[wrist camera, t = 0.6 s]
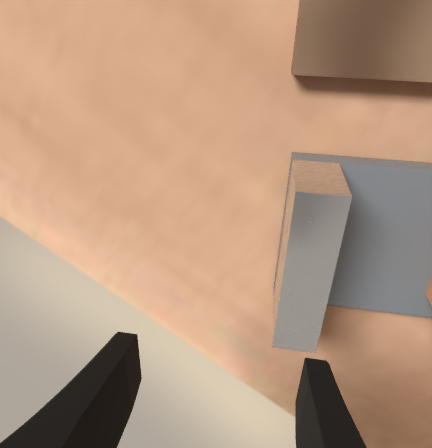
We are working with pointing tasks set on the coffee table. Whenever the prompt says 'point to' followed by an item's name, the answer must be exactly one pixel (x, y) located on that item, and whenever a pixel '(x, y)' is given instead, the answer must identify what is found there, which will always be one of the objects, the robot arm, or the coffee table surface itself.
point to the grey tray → (351, 243)
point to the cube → (429, 292)
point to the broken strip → (364, 39)
